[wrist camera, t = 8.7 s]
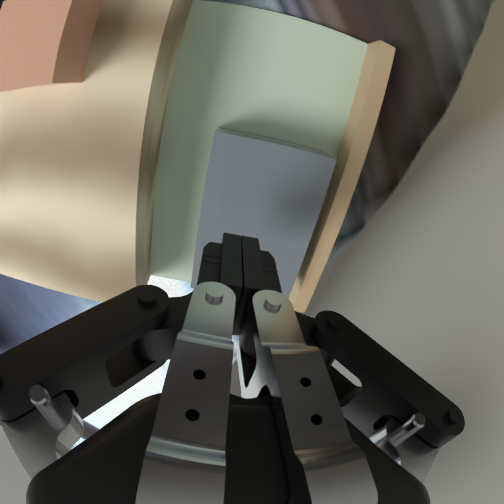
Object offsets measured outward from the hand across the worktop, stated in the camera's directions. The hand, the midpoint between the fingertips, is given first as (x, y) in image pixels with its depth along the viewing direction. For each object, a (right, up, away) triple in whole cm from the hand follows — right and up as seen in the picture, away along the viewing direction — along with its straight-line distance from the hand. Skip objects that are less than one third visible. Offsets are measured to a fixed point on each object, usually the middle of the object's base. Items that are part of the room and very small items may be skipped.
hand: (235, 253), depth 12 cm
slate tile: (+1, +1, +2) cm, 3 cm away
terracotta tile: (-9, +10, -5) cm, 14 cm away
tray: (+1, +5, +3) cm, 6 cm away
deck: (-11, +7, +1) cm, 13 cm away
